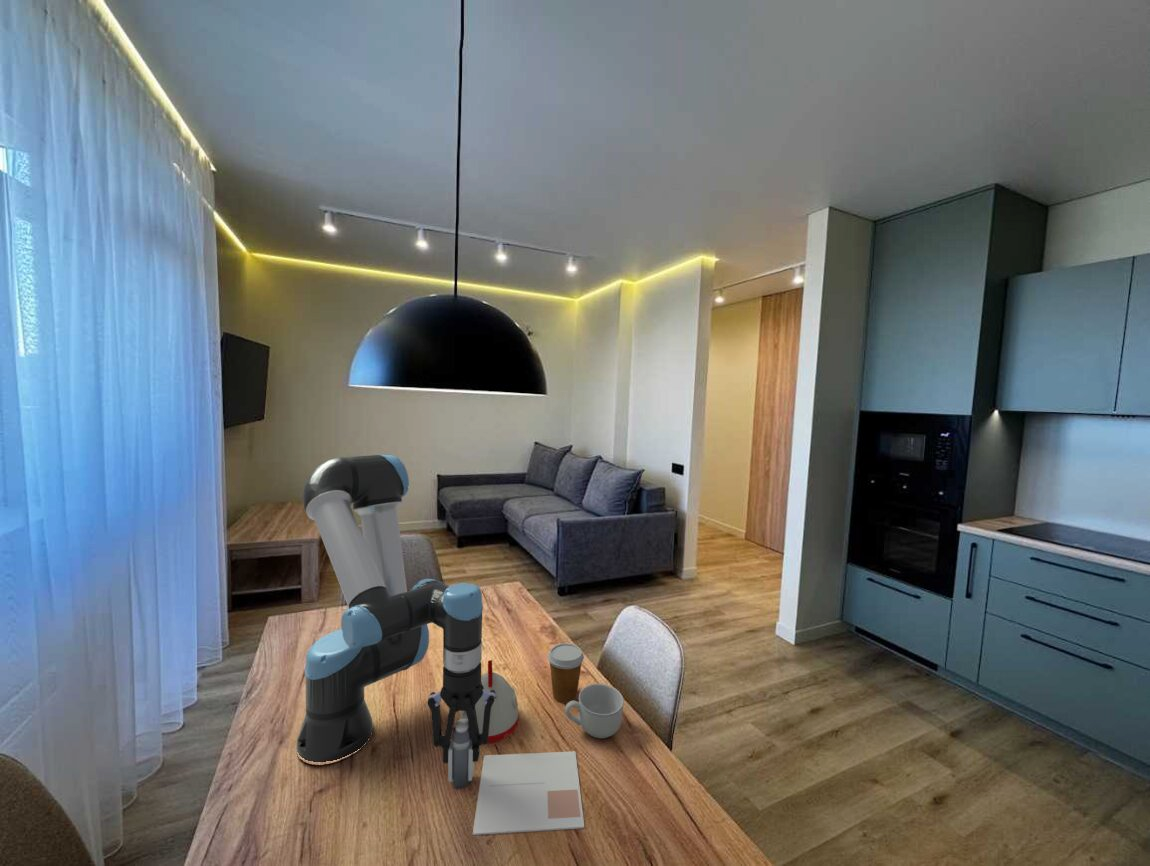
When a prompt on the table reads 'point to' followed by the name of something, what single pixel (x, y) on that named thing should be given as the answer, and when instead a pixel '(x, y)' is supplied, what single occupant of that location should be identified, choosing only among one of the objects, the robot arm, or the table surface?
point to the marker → (461, 753)
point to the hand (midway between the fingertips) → (461, 775)
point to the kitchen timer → (497, 707)
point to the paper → (528, 793)
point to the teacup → (598, 710)
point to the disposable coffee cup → (565, 671)
